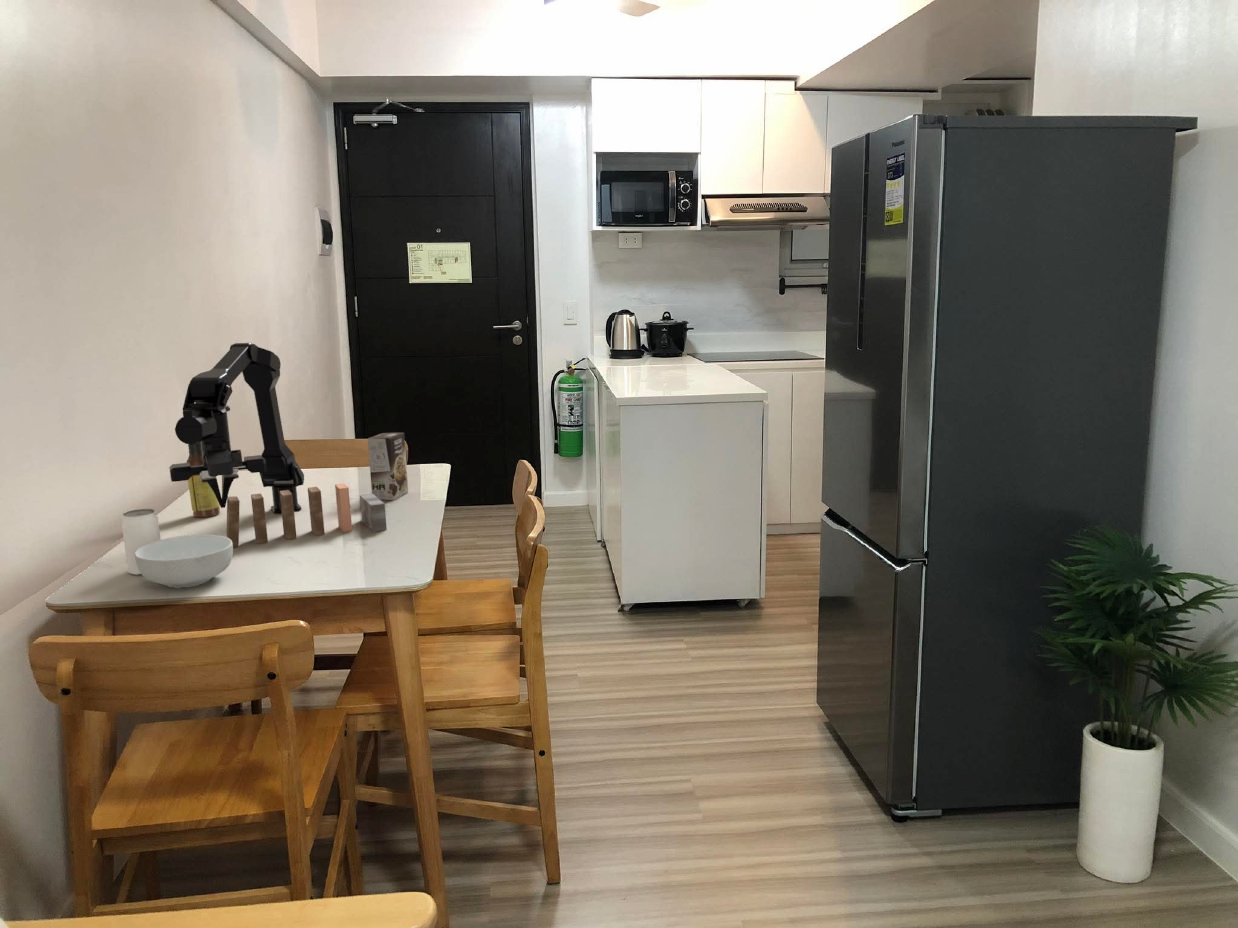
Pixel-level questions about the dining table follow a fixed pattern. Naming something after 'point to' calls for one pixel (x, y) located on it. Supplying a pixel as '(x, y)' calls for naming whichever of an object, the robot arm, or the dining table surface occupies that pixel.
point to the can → (138, 533)
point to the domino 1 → (233, 520)
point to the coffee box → (388, 465)
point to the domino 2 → (259, 518)
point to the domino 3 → (288, 514)
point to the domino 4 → (316, 511)
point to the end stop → (373, 512)
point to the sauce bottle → (200, 487)
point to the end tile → (343, 507)
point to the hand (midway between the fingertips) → (222, 507)
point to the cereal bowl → (184, 559)
